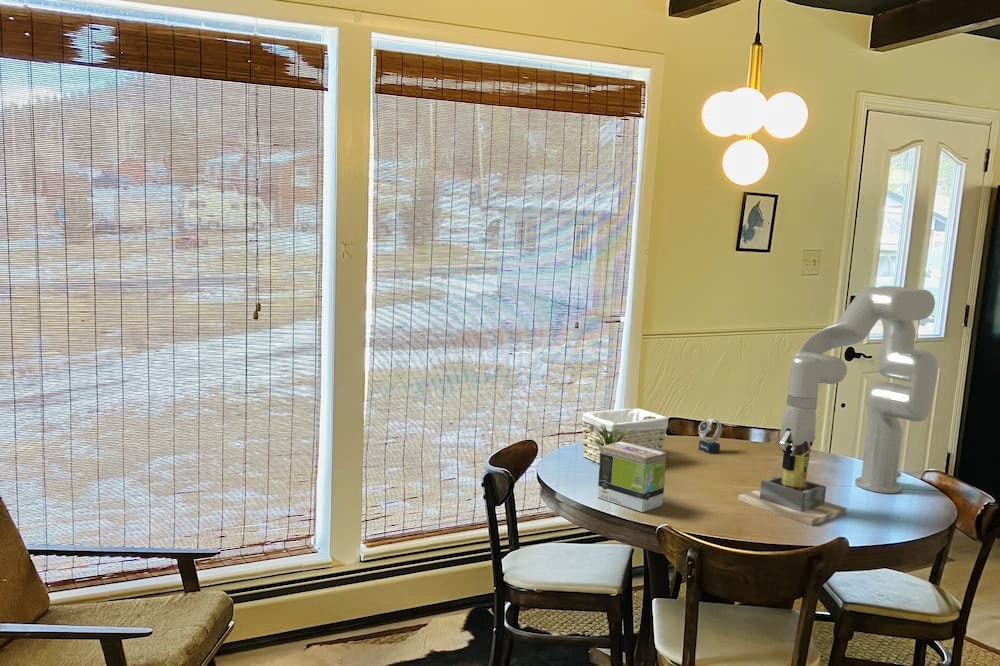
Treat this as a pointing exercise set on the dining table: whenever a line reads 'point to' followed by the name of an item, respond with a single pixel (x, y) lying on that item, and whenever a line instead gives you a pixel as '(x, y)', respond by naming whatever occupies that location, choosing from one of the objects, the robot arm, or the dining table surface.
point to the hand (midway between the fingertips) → (795, 466)
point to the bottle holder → (793, 501)
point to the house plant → (610, 439)
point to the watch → (711, 445)
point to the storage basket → (623, 429)
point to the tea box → (632, 476)
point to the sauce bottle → (797, 469)
